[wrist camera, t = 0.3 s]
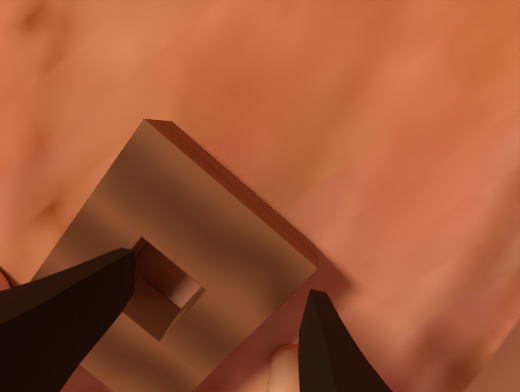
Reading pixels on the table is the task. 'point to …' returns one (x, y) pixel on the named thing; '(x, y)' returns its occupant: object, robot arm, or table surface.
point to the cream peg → (284, 370)
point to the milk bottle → (3, 282)
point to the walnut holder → (182, 260)
